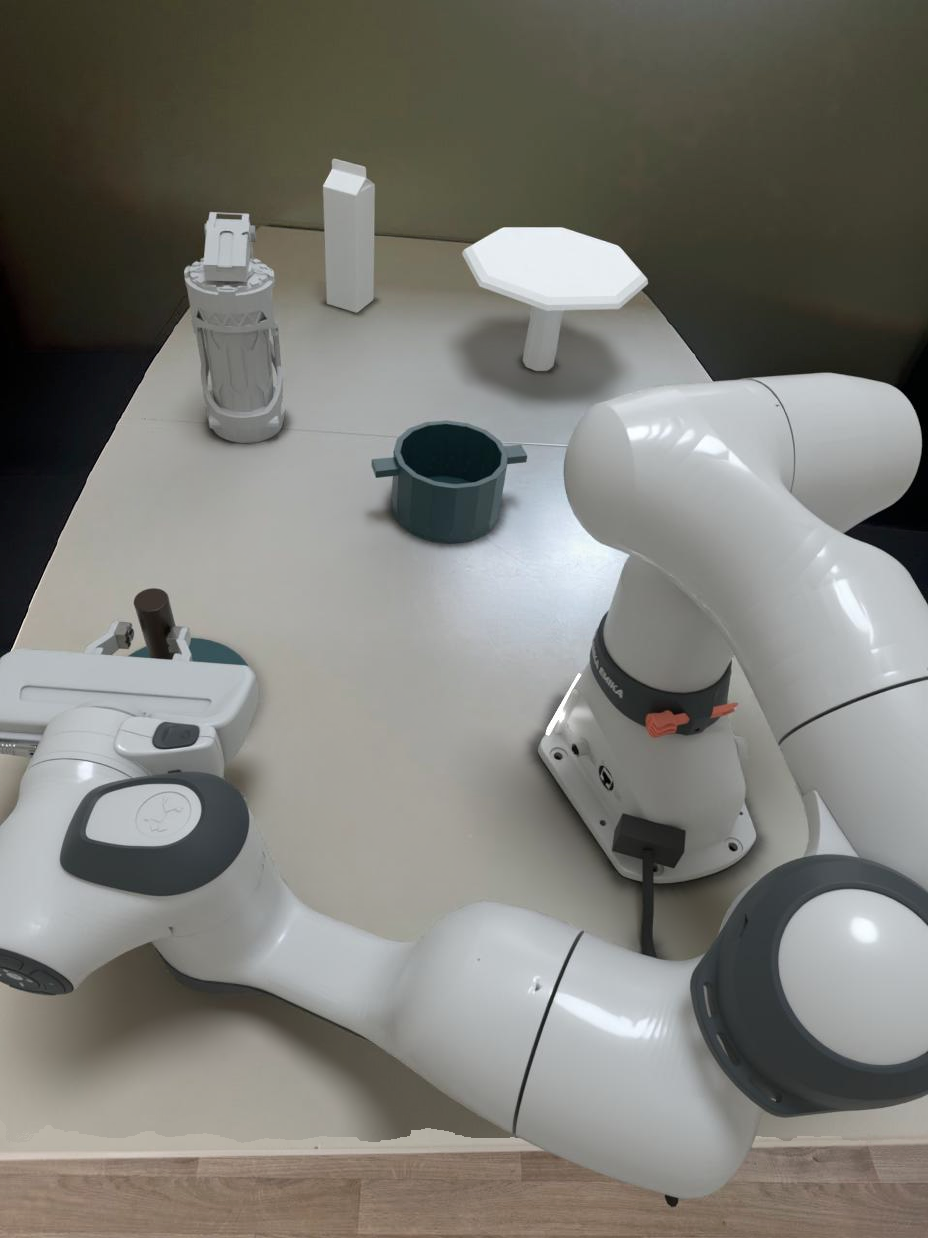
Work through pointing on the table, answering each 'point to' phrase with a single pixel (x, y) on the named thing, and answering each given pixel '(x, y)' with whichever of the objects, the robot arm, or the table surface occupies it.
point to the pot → (448, 480)
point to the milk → (349, 236)
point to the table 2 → (553, 279)
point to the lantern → (236, 333)
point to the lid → (157, 625)
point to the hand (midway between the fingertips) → (153, 629)
